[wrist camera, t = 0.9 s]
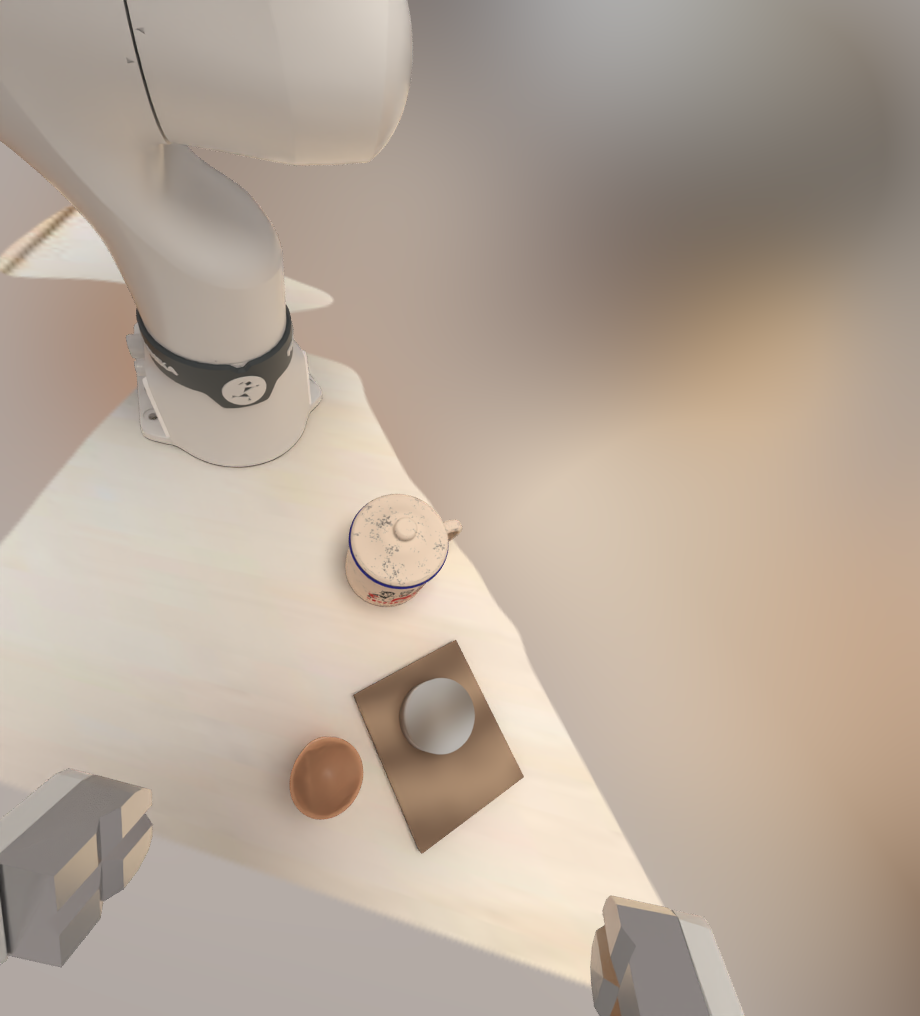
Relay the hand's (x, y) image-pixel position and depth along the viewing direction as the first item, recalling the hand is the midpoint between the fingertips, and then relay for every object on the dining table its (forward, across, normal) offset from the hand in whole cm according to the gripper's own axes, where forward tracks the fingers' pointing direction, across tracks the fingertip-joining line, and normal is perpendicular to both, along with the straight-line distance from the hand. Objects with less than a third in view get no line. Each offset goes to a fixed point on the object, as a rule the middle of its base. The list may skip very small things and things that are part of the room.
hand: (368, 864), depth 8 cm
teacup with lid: (+40, +8, +11) cm, 42 cm away
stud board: (+30, 0, +24) cm, 38 cm away
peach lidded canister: (+26, +9, +25) cm, 37 cm away
